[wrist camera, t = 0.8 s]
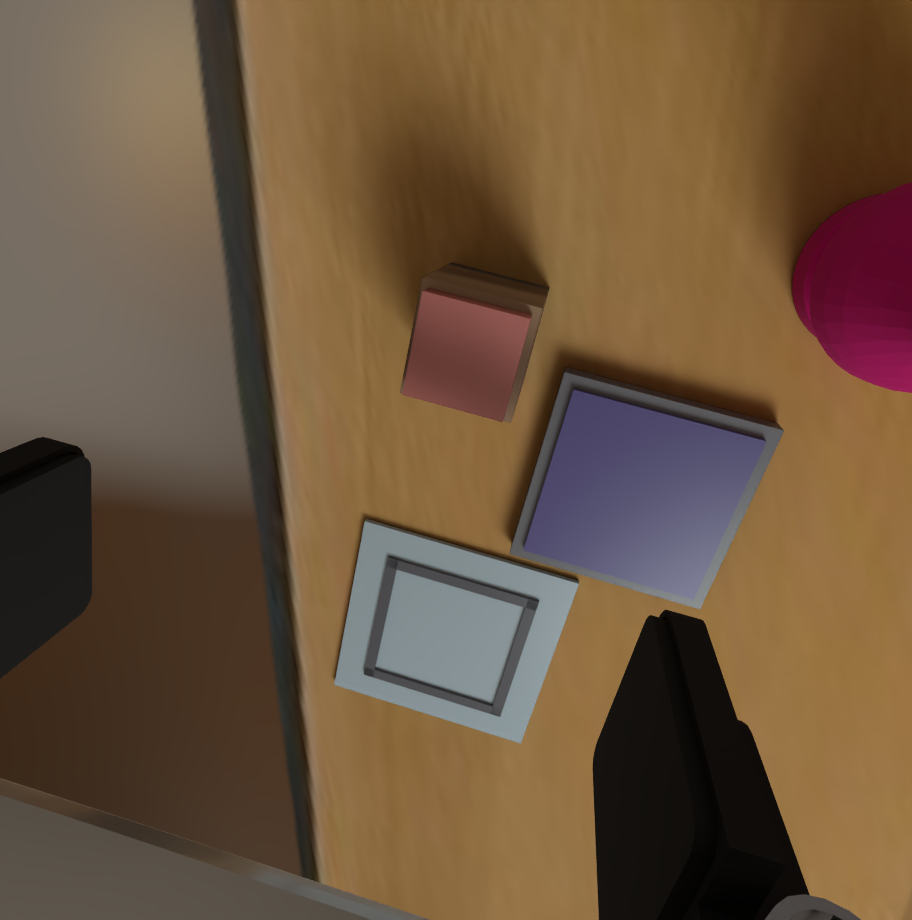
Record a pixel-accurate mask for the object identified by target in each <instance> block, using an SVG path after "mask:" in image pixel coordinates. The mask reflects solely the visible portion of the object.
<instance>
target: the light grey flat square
mask: <svg viewBox="0 0 912 920" xmlns="http://www.w3.org/2000/svg"><path fill="white" fill-rule="evenodd" d="M578 585H579V581H578V580H575V579H571V578H568V577H564V576H561V575H557V574H554V573H551V572H547V571H544V570H540V569H537V568H533V567H530V566H527V565H523V564H520V563H516V562H513V561H509V560H506V559H503V558H499V557H496V556H492V555H489V554H485V553H482V552H479V551H475V550H472V549H468V548H465V547H462V546H458V545H455V544H451V543H448V542H444V541H441V540H438V539H434V538H431V537H427V536H424V535H420V534H417V533H414V532H410V531H407V530H403V529H400V528H396V527H393V526H390V525H386V524H383V523H379V522H376V521H372V520H369V519H366V520H365V523H364V528H363V534H362V539H361V544H360V550H359V555H358V560H357V566H356V571H355V576H354V582H353V587H352V593H351V598H350V603H349V609H348V614H347V619H346V625H345V630H344V635H343V641H342V646H341V652H340V657H339V662H338V668H337V673H336V678H335V684H334V685H337V686H340V687H343V688H346V689H350V690H353V691H356V692H359V693H362V694H365V695H369V696H372V697H375V698H378V699H381V700H385V701H388V702H391V703H394V704H397V705H400V706H404V707H407V708H410V709H413V710H416V711H419V712H423V713H426V714H429V715H432V716H435V717H439V718H442V719H445V720H448V721H451V722H454V723H458V724H461V725H464V726H467V727H470V728H473V729H477V730H480V731H483V732H486V733H489V734H493V735H496V736H499V737H502V738H505V739H508V740H512V741H515V742H518V743H521V741H522V738H523V736H524V733H525V730H526V727H527V725H528V722H529V719H530V716H531V714H532V711H533V708H534V706H535V703H536V700H537V697H538V695H539V692H540V689H541V686H542V684H543V681H544V678H545V675H546V673H547V670H548V667H549V664H550V662H551V659H552V656H553V654H554V651H555V648H556V645H557V643H558V640H559V637H560V634H561V632H562V629H563V626H564V623H565V621H566V618H567V615H568V612H569V610H570V607H571V604H572V602H573V599H574V596H575V593H576V591H577V588H578Z"/></svg>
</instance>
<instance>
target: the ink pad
mask: <svg viewBox="0 0 912 920" xmlns="http://www.w3.org/2000/svg"><path fill="white" fill-rule="evenodd" d="M783 432H784V430H783V429H782V428H781V427H780V425H779V424H778V423H774V422H771V421H767V420H763V419H759V418H756V417H752V416H748V415H744V414H740V413H737V412H733V411H729V410H725V409H722V408H718V407H714V406H710V405H707V404H703V403H699V402H695V401H692V400H688V399H684V398H680V397H676V396H673V395H669V394H665V393H661V392H658V391H654V390H650V389H646V388H643V387H639V386H635V385H631V384H627V383H624V382H620V381H616V380H612V379H609V378H605V377H601V376H597V375H594V374H590V373H586V372H582V371H578V370H575V369H571V368H567V367H565V369H564V372H563V376H562V379H561V382H560V386H559V389H558V392H557V396H556V399H555V402H554V405H553V409H552V412H551V415H550V419H549V422H548V425H547V429H546V432H545V435H544V438H543V442H542V445H541V448H540V452H539V455H538V458H537V462H536V465H535V468H534V472H533V475H532V478H531V481H530V485H529V488H528V491H527V495H526V498H525V501H524V505H523V508H522V511H521V515H520V518H519V521H518V524H517V528H516V531H515V534H514V538H513V541H512V544H511V549H510V554H512V555H515V556H519V557H522V558H526V559H529V560H533V561H536V562H539V563H543V564H546V565H550V566H553V567H557V568H560V569H564V570H567V571H570V572H574V573H577V574H581V575H584V576H588V577H591V578H594V579H598V580H601V581H605V582H608V583H612V584H615V585H618V586H622V587H625V588H629V589H632V590H636V591H639V592H642V593H646V594H649V595H653V596H656V597H660V598H663V599H667V600H670V601H673V602H677V603H680V604H684V605H687V606H691V607H694V608H697V609H700V608H701V606H702V604H703V602H704V600H705V598H706V595H707V593H708V591H709V589H710V587H711V585H712V583H713V581H714V578H715V576H716V574H717V572H718V570H719V568H720V566H721V564H722V561H723V559H724V557H725V555H726V553H727V551H728V549H729V547H730V544H731V542H732V540H733V538H734V536H735V534H736V532H737V530H738V527H739V525H740V523H741V521H742V519H743V517H744V515H745V513H746V510H747V508H748V506H749V504H750V502H751V500H752V498H753V496H754V493H755V491H756V489H757V487H758V485H759V483H760V481H761V479H762V476H763V474H764V472H765V470H766V468H767V466H768V464H769V462H770V459H771V457H772V455H773V453H774V451H775V449H776V447H777V445H778V442H779V440H780V438H781V436H782V434H783Z"/></svg>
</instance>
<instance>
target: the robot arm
mask: <svg viewBox="0 0 912 920" xmlns="http://www.w3.org/2000/svg"><path fill="white" fill-rule="evenodd" d="M91 522H92V521H91V465H90V462H89V460H88V459H87V458H85V457H84V454H83V452H82V450H81V449H80V448H79V447H77V446H74V445H71V444H67V443H63V442H60V441H56V440H53V439H49V438H45V437H41V438H36V439H34V440H31V441H29V442H27V443H24V444H21V445H19V446H17V447H14V448H11V449H9V450H7V451H4V452H1V453H0V678H2V677H3V676H4V675H5V674H6V673H8V672H9V671H10V670H12V669H13V668H14V667H15V666H17V665H18V664H19V663H20V662H21V661H23V660H24V659H25V658H27V657H28V656H29V655H30V654H31V653H33V652H34V651H35V650H37V649H38V648H39V647H40V646H42V645H43V644H44V643H45V642H47V641H48V640H49V639H50V638H52V637H53V636H54V635H55V634H57V633H58V632H59V631H60V630H62V629H63V628H64V627H65V626H67V625H68V624H69V623H70V622H72V621H73V620H74V619H76V618H77V617H78V616H79V615H80V614H81V613H82V612H83V611H84V610H85V609H86V607H87V605H88V604H89V601H90V599H91V596H92V536H91V535H92V528H91V527H92V523H91ZM593 787H594V811H595V835H596V859H597V884H598V908H599V920H861V919H859V918H858V917H857V916H855V915H854V914H852V913H851V912H850V911H848V910H846V909H844V908H842V907H840V906H838V905H836V904H834V903H832V902H830V901H828V900H826V899H823V898H818V897H814V896H810V895H809V892H808V889H807V887H806V884H805V881H804V878H803V875H802V873H801V870H800V867H799V864H798V861H797V858H796V856H795V853H794V850H793V847H792V844H791V842H790V839H789V836H788V833H787V830H786V828H785V825H784V822H783V819H782V816H781V814H780V811H779V808H778V805H777V802H776V800H775V797H774V794H773V791H772V788H771V786H770V783H769V780H768V777H767V774H766V771H765V769H764V766H763V763H762V760H761V757H760V755H759V752H758V749H757V746H756V743H755V741H754V738H753V735H752V733H751V731H750V729H749V727H748V725H746V724H745V723H744V722H742V721H739V720H737V717H736V714H735V711H734V708H733V705H732V702H731V699H730V696H729V693H728V690H727V687H726V684H725V681H724V678H723V675H722V672H721V669H720V666H719V663H718V660H717V657H716V654H715V652H714V649H713V646H712V643H711V640H710V637H709V634H708V631H707V628H706V625H705V623H704V621H703V620H701V619H698V618H694V617H690V616H687V615H683V614H679V613H676V612H672V611H669V610H665V611H663V612H662V613H661V615H660V616H659V617H655V616H652V615H650V616H648V618H647V619H646V621H645V623H644V626H643V628H642V631H641V633H640V636H639V638H638V641H637V643H636V646H635V648H634V651H633V653H632V656H631V658H630V661H629V663H628V666H627V668H626V671H625V673H624V676H623V678H622V681H621V683H620V686H619V688H618V691H617V693H616V696H615V698H614V701H613V704H612V706H611V709H610V711H609V714H608V716H607V719H606V721H605V724H604V726H603V729H602V731H601V734H600V736H599V739H598V741H597V744H596V748H595V752H594V758H593ZM0 920H429V919H426V918H423V917H420V916H417V915H414V914H411V913H408V912H405V911H402V910H399V909H396V908H393V907H390V906H387V905H384V904H381V903H378V902H375V901H372V900H369V899H366V898H363V897H360V896H357V895H354V894H351V893H348V892H345V891H342V890H339V889H336V888H333V887H330V886H327V885H324V884H321V883H318V882H315V881H312V880H309V879H306V878H303V877H300V876H297V875H294V874H291V873H288V872H285V871H282V870H279V869H276V868H273V867H270V866H267V865H264V864H261V863H258V862H255V861H252V860H249V859H246V858H243V857H240V856H237V855H234V854H231V853H228V852H225V851H222V850H219V849H216V848H213V847H209V846H207V845H204V844H201V843H198V842H194V841H191V840H188V839H185V838H182V837H179V836H176V835H173V834H170V833H167V832H164V831H161V830H158V829H155V828H152V827H148V826H146V825H143V824H139V823H136V822H133V821H130V820H127V819H124V818H121V817H118V816H115V815H112V814H108V813H106V812H103V811H100V810H97V809H93V808H90V807H87V806H84V805H81V804H78V803H75V802H72V801H69V800H66V799H63V798H60V797H57V796H53V795H50V794H47V793H44V792H41V791H38V790H35V789H32V788H29V787H26V786H23V785H20V784H16V783H13V782H10V781H7V780H4V779H1V778H0Z"/></svg>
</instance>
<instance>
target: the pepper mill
mask: <svg viewBox="0 0 912 920" xmlns="http://www.w3.org/2000/svg"><path fill="white" fill-rule="evenodd" d="M792 293H793V300H794V305H795V308H796V311H797V313H798V316H799V318H800V319H801V321H802V323H803V324H804V325H805V327H806V328H807V329H808V330H809V331H810V332H811V333H812V334H813V335H814V336H815V337H817V339H818V341H819V342H820V344H821V346H822V347H823V349H824V350H825V352H826V353H827V354H828V356H829V357H830V358H831V359H832V360H833V361H834V362H835V363H836V364H837V365H838V366H840V367H841V368H842V369H844V370H845V371H847V372H848V373H849V374H851V375H853V376H855V377H858V378H860V379H862V380H864V381H866V382H869V383H872V384H874V385H877V386H881V387H884V388H887V389H890V390H895V391H902V392H909V393H912V182H911V183H907V184H904V185H902V186H899V187H897V188H895V189H893V190H891V191H889V192H887V193H884V194H877V195H873V196H869V197H866V198H863V199H860V200H858V201H855V202H853V203H851V204H849V205H847V206H846V207H844V208H842V209H840V210H839V211H838V212H836V213H835V214H833V215H832V216H830V217H829V218H828V219H827V220H826V221H825V222H823V223H822V224H821V225H820V227H819V228H818V229H817V230H816V231H815V232H814V233H813V235H812V236H811V237H810V239H809V240H808V241H807V243H806V245H805V246H804V248H803V250H802V252H801V254H800V256H799V258H798V261H797V264H796V267H795V271H794V276H793V286H792Z"/></svg>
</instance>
